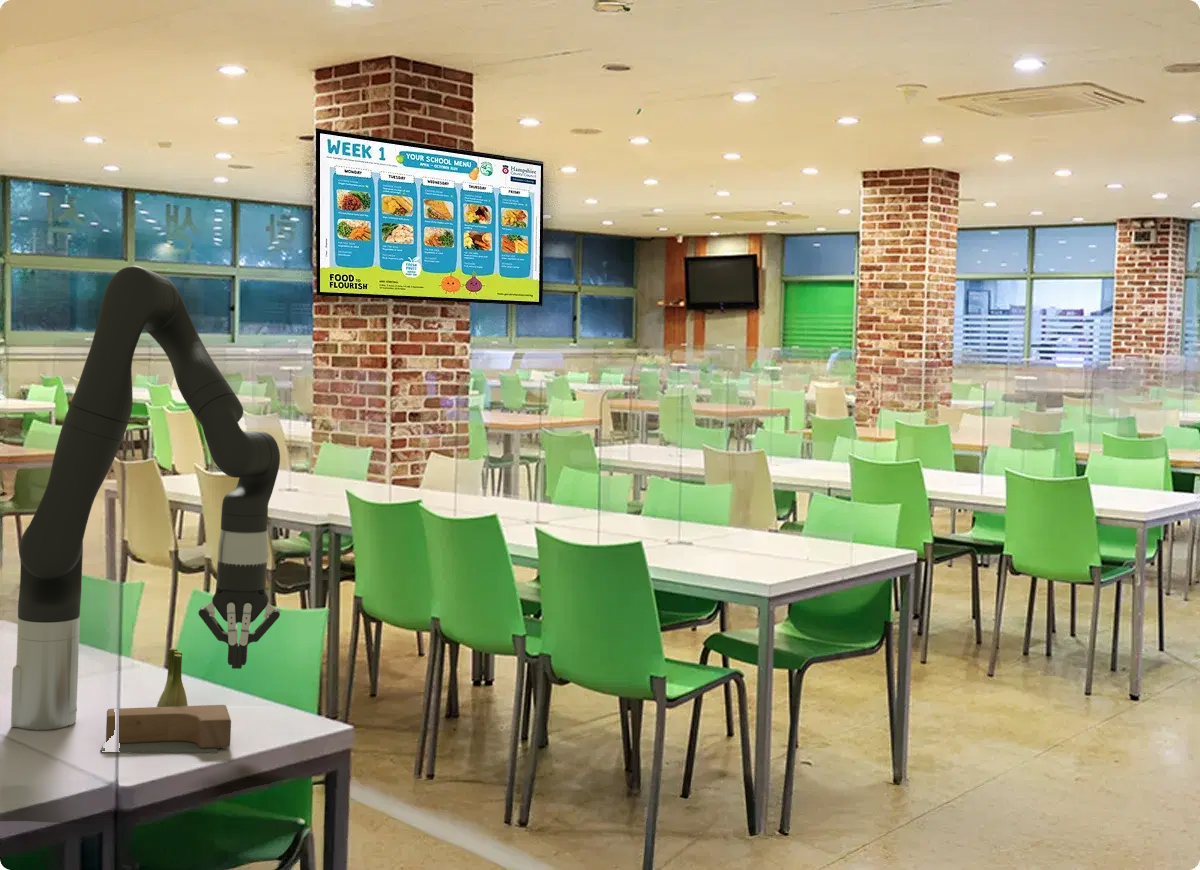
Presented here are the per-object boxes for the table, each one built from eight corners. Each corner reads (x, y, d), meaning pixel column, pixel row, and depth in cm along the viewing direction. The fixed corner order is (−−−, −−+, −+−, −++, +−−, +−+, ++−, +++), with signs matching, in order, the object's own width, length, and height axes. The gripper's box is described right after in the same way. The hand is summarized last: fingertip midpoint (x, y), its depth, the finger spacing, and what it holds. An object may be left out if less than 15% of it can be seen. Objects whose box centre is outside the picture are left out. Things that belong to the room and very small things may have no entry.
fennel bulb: (181, 727, 219) (184, 654, 218) (150, 725, 219) (153, 652, 218) (191, 717, 224) (194, 646, 224) (161, 716, 224) (164, 644, 224)
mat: (100, 752, 203) (100, 750, 203) (113, 729, 215) (113, 727, 215) (216, 752, 206) (216, 750, 206) (223, 730, 218) (223, 727, 218)
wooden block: (231, 719, 207) (107, 724, 201) (230, 748, 208) (106, 753, 201) (226, 703, 216) (106, 708, 210) (225, 731, 216) (105, 736, 210)
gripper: (196, 561, 206) (190, 672, 207) (284, 564, 208) (279, 674, 209) (201, 553, 213) (196, 661, 214) (286, 556, 216) (281, 662, 217)
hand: (237, 667), depth 212 cm, fingers closed
